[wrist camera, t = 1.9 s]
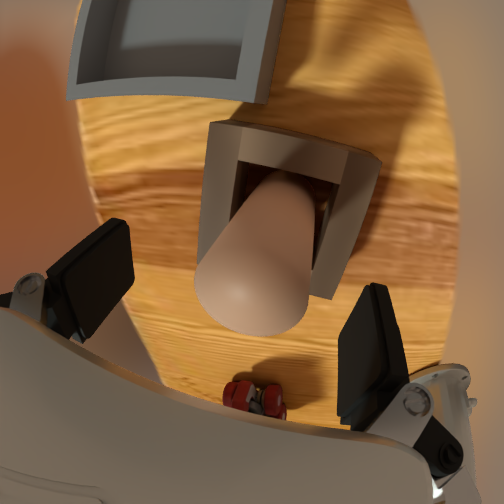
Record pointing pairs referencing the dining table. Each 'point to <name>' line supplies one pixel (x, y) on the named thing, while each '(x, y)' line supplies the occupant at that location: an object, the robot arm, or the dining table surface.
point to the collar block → (298, 161)
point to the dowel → (262, 259)
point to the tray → (175, 48)
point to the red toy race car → (255, 399)
